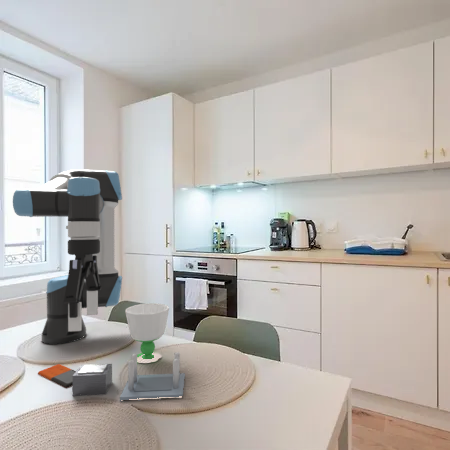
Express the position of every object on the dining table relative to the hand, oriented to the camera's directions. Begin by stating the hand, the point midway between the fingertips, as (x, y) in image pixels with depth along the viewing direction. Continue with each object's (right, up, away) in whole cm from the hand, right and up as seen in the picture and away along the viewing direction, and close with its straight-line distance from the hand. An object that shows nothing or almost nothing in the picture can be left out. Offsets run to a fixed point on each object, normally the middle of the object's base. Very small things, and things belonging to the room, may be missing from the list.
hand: (84, 322), depth 79 cm
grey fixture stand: (+18, -18, +2) cm, 25 cm away
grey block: (+2, -18, +2) cm, 18 cm away
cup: (+11, -18, +20) cm, 29 cm away
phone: (-10, -19, +9) cm, 23 cm away
